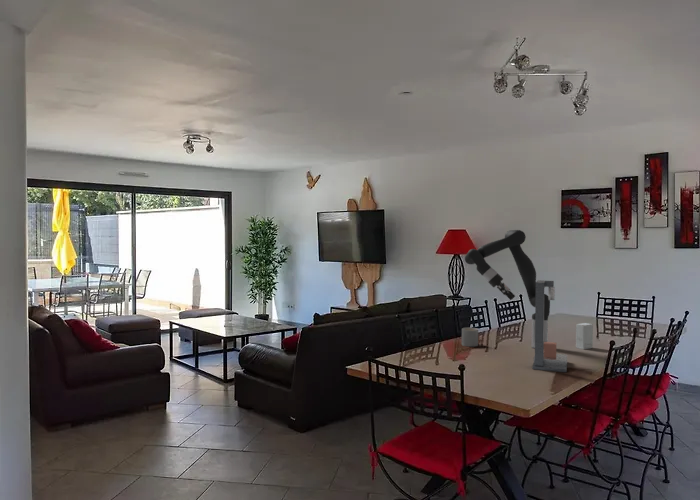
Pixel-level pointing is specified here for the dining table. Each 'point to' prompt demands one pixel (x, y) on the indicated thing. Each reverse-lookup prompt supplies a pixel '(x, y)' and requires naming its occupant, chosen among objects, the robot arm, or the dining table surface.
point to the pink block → (550, 349)
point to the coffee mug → (470, 337)
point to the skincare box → (584, 336)
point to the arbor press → (539, 359)
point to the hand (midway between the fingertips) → (513, 298)
